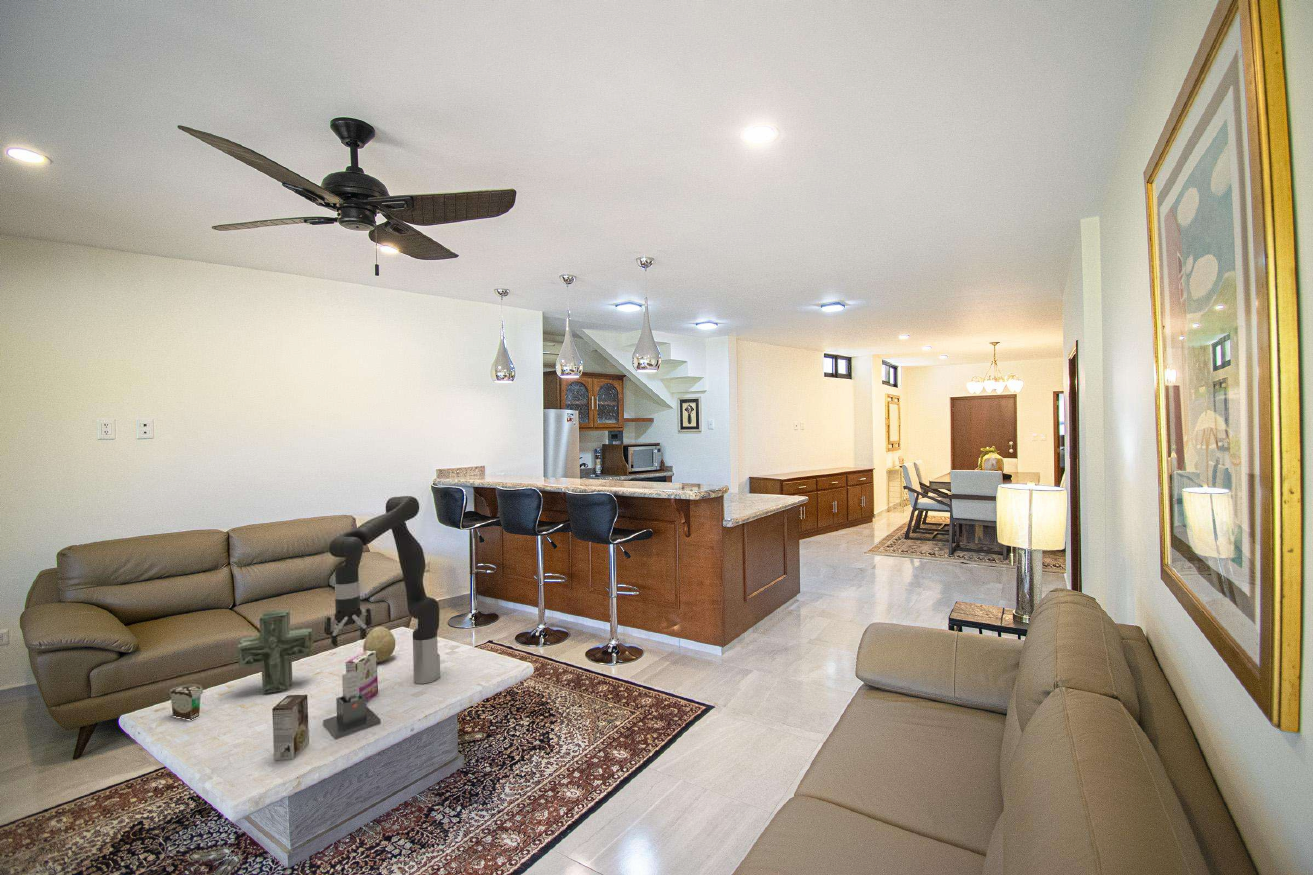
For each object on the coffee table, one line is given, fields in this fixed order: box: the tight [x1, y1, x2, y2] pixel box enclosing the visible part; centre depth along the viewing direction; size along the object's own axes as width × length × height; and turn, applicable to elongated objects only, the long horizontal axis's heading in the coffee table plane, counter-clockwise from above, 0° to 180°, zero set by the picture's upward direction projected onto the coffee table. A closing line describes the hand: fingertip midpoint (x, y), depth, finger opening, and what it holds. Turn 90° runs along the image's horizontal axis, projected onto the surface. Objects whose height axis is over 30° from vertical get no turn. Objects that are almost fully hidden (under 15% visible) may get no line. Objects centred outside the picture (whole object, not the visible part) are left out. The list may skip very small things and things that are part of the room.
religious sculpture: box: [237, 608, 314, 695], centre depth 229 cm, size 24×12×30 cm, turn 114°
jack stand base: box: [322, 692, 382, 740], centre depth 200 cm, size 14×14×10 cm
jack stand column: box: [341, 671, 359, 703], centre depth 200 cm, size 4×4×16 cm
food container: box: [168, 683, 204, 721], centre depth 209 cm, size 12×6×10 cm, turn 71°
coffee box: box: [271, 694, 310, 761], centre depth 183 cm, size 9×6×16 cm
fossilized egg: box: [362, 626, 396, 663], centre depth 255 cm, size 13×13×15 cm
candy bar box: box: [345, 651, 379, 702], centre depth 218 cm, size 11×5×16 cm, turn 168°
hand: (349, 642), depth 200 cm, fingers open, 8 cm apart
